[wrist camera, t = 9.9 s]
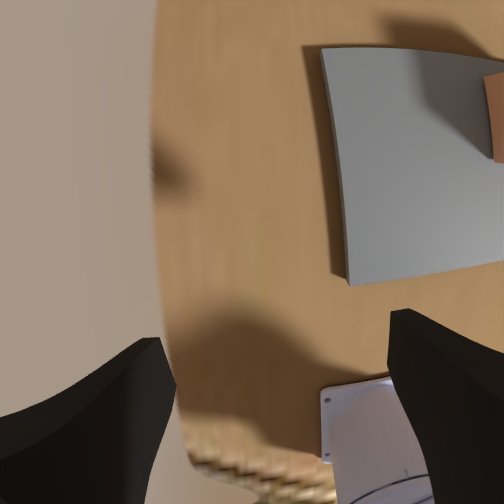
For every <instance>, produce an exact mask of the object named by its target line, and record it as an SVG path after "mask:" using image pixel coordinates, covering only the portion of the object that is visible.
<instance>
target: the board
mask: <svg viewBox="0 0 504 504" xmlns="http://www.w3.org/2000/svg"><path fill="white" fill-rule="evenodd" d="M319 57H320V62H321V67H322V72H323V78H324V83H325V89H326V95H327V101H328V107H329V113H330V120H331V127H332V134H333V141H334V148H335V156H336V164H337V173H338V182H339V191H340V201H341V212H342V224H343V237H344V252H345V269H346V281H347V283H348V284H349V286H350V287H351V286H358V285H365V284H371V283H378V282H384V281H391V280H397V279H403V278H409V277H415V276H421V275H427V274H433V273H438V272H444V271H449V270H455V269H460V268H466V267H471V266H476V265H481V264H486V263H491V262H496V261H501V260H504V164H502V163H496V162H494V154H493V141H492V131H491V122H490V114H489V107H488V101H487V94H486V89H485V83H484V78H483V77H486V76H490V75H494V74H498V73H502V72H504V63H503V62H499V61H494V60H489V59H484V58H478V57H472V56H466V55H460V54H452V53H445V52H436V51H426V50H414V49H398V48H326V49H321V51H320V53H319Z"/></svg>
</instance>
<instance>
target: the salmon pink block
mask: <svg viewBox="0 0 504 504" xmlns="http://www.w3.org/2000/svg"><path fill="white" fill-rule="evenodd" d="M483 78H484V83H485V89H486V94H487V101H488V107H489V114H490V122H491V131H492V141H493V154H494V162H496V163H502V164H504V72H502V73H498V74H494V75H490V76H486V77H483Z"/></svg>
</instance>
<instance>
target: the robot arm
mask: <svg viewBox="0 0 504 504" xmlns="http://www.w3.org/2000/svg"><path fill="white" fill-rule="evenodd" d="M387 366H388V369H389V373H390V377H385V378H381V379H375V380H370V381H365V382H359V383H353V384H347V385H341V386H335V387H328V388H324V389H323V390H322V391H321V392H320V403H321V442H322V462H323V463H325V464H327V463H332V465H333V472H334V480H335V487H336V494H337V502H338V504H504V353H501V352H498V351H496V350H493V349H490V348H488V347H486V346H483V345H481V344H479V343H477V342H474V341H472V340H470V339H468V338H466V337H464V336H462V335H460V334H458V333H456V332H454V331H452V330H450V329H448V328H446V327H444V326H443V325H441V324H439V323H437V322H435V321H433V320H431V319H430V318H428V317H426V316H424V315H422V314H420V313H418V312H416V311H414V310H412V309H409V308H407V309H402V310H396V311H391V314H390V332H389V347H388V359H387ZM175 391H176V383H175V381H174V378H173V375H172V372H171V369H170V367H169V364H168V361H167V358H166V355H165V352H164V349H163V346H162V343H161V340H160V337H154V338H142V339H140V340H138V341H137V342H135V343H133V344H132V345H130V346H129V347H127V348H126V349H125V350H123V351H122V352H120V353H119V354H118V355H116V356H115V357H114V358H112V359H111V360H109V361H108V362H107V363H105V364H104V365H102V366H101V367H100V368H98V369H97V370H95V371H94V372H93V373H91V374H89V375H88V376H86V377H85V378H83V379H82V380H80V381H79V382H77V383H75V384H74V385H72V386H71V387H69V388H67V389H66V390H64V391H62V392H60V393H58V394H56V395H55V396H53V397H51V398H49V399H47V400H45V401H43V402H40V403H38V404H35V405H33V406H31V407H28V408H26V409H23V410H21V411H18V412H15V413H12V414H9V415H6V416H3V417H0V504H144V502H145V496H146V491H147V486H148V481H149V477H150V473H151V469H152V466H153V463H154V460H155V457H156V454H157V451H158V448H159V446H160V443H161V440H162V437H163V435H164V432H165V429H166V426H167V423H168V420H169V418H170V415H171V412H172V407H173V402H174V397H175ZM326 398H330V399H327V400H326Z"/></svg>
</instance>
